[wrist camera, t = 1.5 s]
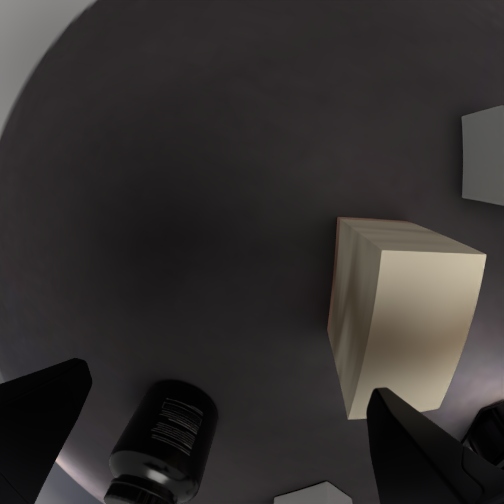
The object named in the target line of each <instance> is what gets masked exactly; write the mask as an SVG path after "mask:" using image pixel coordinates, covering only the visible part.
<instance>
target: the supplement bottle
mask: <svg viewBox="0 0 504 504" xmlns="http://www.w3.org/2000/svg"><path fill="white" fill-rule="evenodd" d="M217 420H218V416H217V411H216V409H215V407H214V405H213V404H212V402H211V401H210V400H209V399H208V398H207V397H206V396H205V395H204V394H202V393H201V392H200V391H198V390H196V389H194V388H192V387H190V386H187V385H184V384H181V383H175V382H165V383H160V384H157V385H154V386H153V387H151V388H150V389H149V390H148V391H147V393H146V394H145V396H144V398H143V399H142V401H141V402H140V404H139V406H138V408H137V409H136V411H135V413H134V414H133V416H132V418H131V419H130V421H129V423H128V425H127V426H126V428H125V430H124V431H123V433H122V435H121V437H120V438H119V440H118V442H117V443H116V445H115V447H114V449H113V450H112V453H111V455H110V458H109V464H110V468H111V471H112V473H113V475H114V476H115V478H114V479H112V481H111V483H110V485H109V489H108V491H107V493H106V495H105V497H104V502H105V503H106V504H182V503H186V502H188V501H190V500H191V499H193V498H194V497H195V496H196V494H197V493H198V490H199V487H200V484H201V480H202V477H203V473H204V470H205V466H206V462H207V459H208V455H209V452H210V448H211V444H212V441H213V437H214V433H215V430H216V425H217Z"/></svg>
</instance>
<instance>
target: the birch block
mask: <svg viewBox="0 0 504 504" xmlns="http://www.w3.org/2000/svg"><path fill="white" fill-rule="evenodd" d="M485 260H486V254H484V253H482V252H480V251H477V250H475V249H473V248H471V247H469V246H466V245H464V244H462V243H460V242H457V241H455V240H453V239H450V238H448V237H446V236H443V235H441V234H439V233H436V232H434V231H431V230H429V229H426V228H424V227H421V226H419V225H416V224H414V223H411V222H409V221H398V220H383V219H367V218H349V217H337V232H336V247H335V260H334V272H333V282H332V292H331V302H330V310H329V319H328V327H327V332H328V336H329V340H330V344H331V348H332V352H333V356H334V360H335V364H336V368H337V373H338V377H339V381H340V385H341V390H342V394H343V399H344V403H345V408H346V412H347V417H348V419H364V418H367V417H366V410H367V406H368V403H369V400H370V397H371V394H372V391H373V389H375V388H381V387H387V388H389V389H390V390H391V391H393V392H394V393H395V394H397V395H398V396H399V397H400V398H402V399H403V400H404V401H406V402H407V403H408V404H410V405H411V406H412V407H414V408H415V409H416V410H418V411H419V412H422V411H428V410H434V409H439V407H440V405H441V403H442V401H443V398H444V396H445V394H446V392H447V389H448V387H449V385H450V382H451V380H452V377H453V375H454V372H455V369H456V367H457V364H458V361H459V359H460V356H461V353H462V350H463V347H464V344H465V341H466V338H467V335H468V332H469V328H470V325H471V321H472V318H473V314H474V311H475V307H476V303H477V299H478V295H479V290H480V286H481V281H482V276H483V271H484V266H485Z"/></svg>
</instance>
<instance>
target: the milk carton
mask: <svg viewBox="0 0 504 504" xmlns="http://www.w3.org/2000/svg"><path fill="white" fill-rule="evenodd" d="M274 504H352V499H351V498H350V497H349V496H347V495H346V494H344V493H343V492H342V491H340V490H339V489H337V488H336V487H334V486H333V485H332V484H330V483H329V482H327V481H326V482H323V483H320V484H317V485H315V486H311V487H308V488H305V489H302V490H299V491H296V492H292V493H289V494H285V495H281V496H278V497H275V498H274Z"/></svg>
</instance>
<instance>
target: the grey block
mask: <svg viewBox="0 0 504 504" xmlns="http://www.w3.org/2000/svg"><path fill="white" fill-rule="evenodd" d="M462 133H463V188H462V198H466V199H471V200H477V201H482V202H488V203H493V204H498V205H503V206H504V105H502V106H498V107H494V108H490V109H486V110H483V111H479V112H475V113H472V114H468V115H465V116H462Z"/></svg>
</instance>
